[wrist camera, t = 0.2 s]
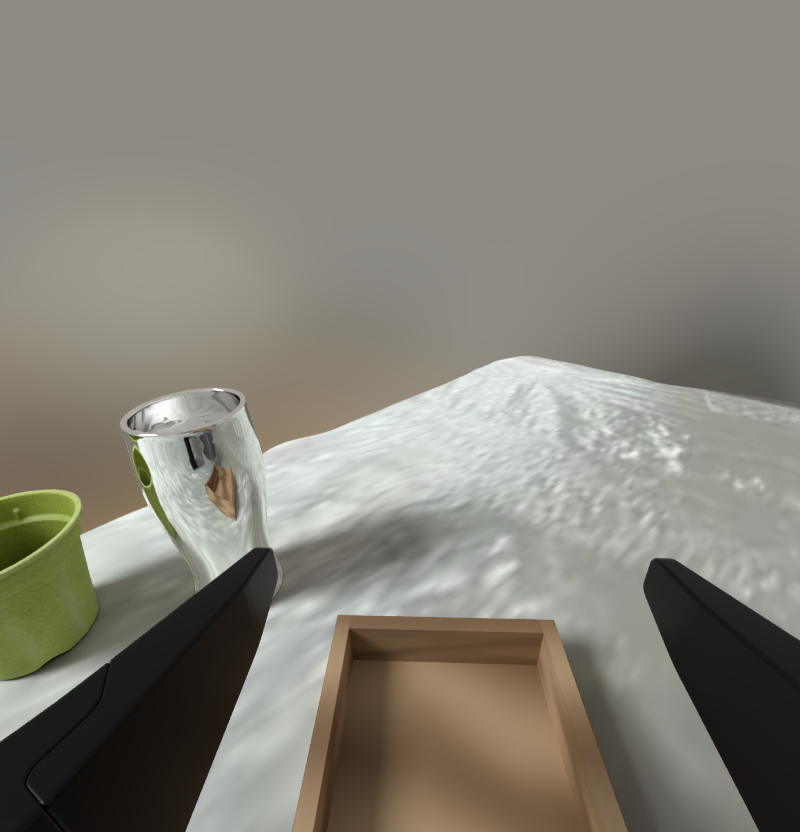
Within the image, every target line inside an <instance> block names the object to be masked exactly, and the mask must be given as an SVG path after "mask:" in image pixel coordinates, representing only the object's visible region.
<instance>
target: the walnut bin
mask: <svg viewBox="0 0 800 832" xmlns="http://www.w3.org/2000/svg"><path fill="white" fill-rule="evenodd" d="M292 832H628V831H627V828H626V825H625V822H624V819H623V816H622V814H621V811H620V808H619V805H618V802H617V799H616V796H615V794H614V791H613V788H612V785H611V782H610V779H609V776H608V774H607V771H606V768H605V765H604V762H603V759H602V756H601V754H600V751H599V748H598V745H597V742H596V739H595V736H594V734H593V731H592V728H591V725H590V722H589V719H588V716H587V714H586V711H585V708H584V705H583V702H582V699H581V696H580V693H579V691H578V688H577V685H576V682H575V679H574V676H573V673H572V671H571V668H570V665H569V662H568V659H567V656H566V653H565V651H564V648H563V645H562V642H561V639H560V636H559V633H558V631H557V628H556V625H555V622H554V620H533V619H489V618H445V617H400V616H356V615H338V617H337V621H336V626H335V631H334V635H333V640H332V645H331V650H330V654H329V659H328V664H327V668H326V673H325V678H324V683H323V687H322V692H321V697H320V701H319V706H318V711H317V716H316V720H315V725H314V730H313V734H312V739H311V744H310V749H309V753H308V758H307V763H306V768H305V772H304V777H303V782H302V786H301V791H300V796H299V801H298V805H297V810H296V815H295V819H294V824H293V829H292Z"/></svg>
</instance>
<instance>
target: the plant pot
mask: <svg viewBox="0 0 800 832" xmlns="http://www.w3.org/2000/svg"><path fill="white" fill-rule="evenodd" d="M82 510H83V506H82V502H81V500H80V499H79V497H78V496H77V495H75V494H74V493H71V492H68V491H63V490H39V491H38V490H37V491H29V492H23V493H17V494H12V495H9V496H5V497H1V498H0V680H8V679H13V678H17V677H21V676H24V675H26V674H29V673H32V672H34V671H36V670H38V669H39V668H41V667H42V665H44V664H45V663H46V662H47V661H49V660H50V659H52V658H53V657H55V656H57V655H59V654H61V653H64V652H66V651H68V650H70V649H71V648H72V647H73V646H74V645H75V644H77V643H78V642H79V641H80V640H81V639H82V638H83V636H84V635H85V634H86V633H87V632H88V630H89V629H90V628H91V626H92V624H93V623H94V621H95V619H96V617H97V614H98V601H97V598H96V594H95V591H94V587H93V584H92V581H91V578H90V574H89V570H88V567H87V563H86V559H85V554H84V550H83V546H82V543H81V539H80V533H81V523H80V517H81V514H82Z"/></svg>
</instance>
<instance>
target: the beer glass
mask: <svg viewBox="0 0 800 832" xmlns="http://www.w3.org/2000/svg"><path fill="white" fill-rule="evenodd" d="M120 428H121V429H122V431H123V434H124V438H125V441H126V444H127V448H128V451H129V456H130V459H131V462H132V466H133V469H134V472H135V475H136V478H137V480H138V483H139V486H140V489H141V491H142V493H143V495H144V497H145V500H146V502H147V504H148V506H149V508H150V510H151V512H152V513H153V515H154V517H155V518H156V520H157V521H158V523H159V525H160V526H161V528H162V529H163V530H164V532H165V533H166V534H167V536H168V537H169V539H170V540H171V541H172V543H173V544H174V545H175V547H176V548H177V549H178V551H179V552H180V553H181V555H182V556H183V558H184V559H185V561H186V562H187V563H188V565H189V567H190V570H191V572H192V575H193V578H194V584H195V594H196V593H197V592H198V591H200V590H201V589H202V588H203V587H205V586H206V585H207V584H209V583H210V582H211V581H212V580H214V579H215V578H216V577H217V576H219V575H220V574H221V573H223V572H224V571H225V570H226V569H228V568H229V567H230V566H232V565H233V564H234V563H235V562H237V561H238V560H239V559H240V558H242V557H243V556H244V555H246V554H247V553H248V552H249V551H251V550H252V549H254V548H256V547H269V548H272V547H271V545H270V542H269V538H268V532H267V488H266V474H265V467H264V462H263V457H262V452H261V448H260V444H259V441H258V437H257V434H256V431H255V427H254V425H253V421H252V419H251V416H250V413H249V410H248V407H247V403H246V398H245V396H244V395H243V394H242V393H241V392H239V391H236V390H233V389H227V388H201V389H192V390H186V391H181V392H176V393H172V394H169V395H165V396H162V397H159V398H156V399H153V400H151V401H148V402H146V403H143V404H141V405H140V406H138V407H136V408H134V409H133V410H131V411H129V412H128V413H127V414H126V415H125V416H124V417H123V418H122V420H121V422H120ZM273 552H274V551H273ZM274 556H275V561H276V565H277V570H278V580H277V584H276V588H275V591H274V595H273V598H274V596H275V595H276V594H277V592H278V590H279V588H280V586H281V583H282V575H283V574H282V568H281V565H280V563H279V561H278V559H277V557H276V555H275V553H274ZM273 598H272V599H273Z"/></svg>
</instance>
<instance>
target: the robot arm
mask: <svg viewBox="0 0 800 832" xmlns="http://www.w3.org/2000/svg"><path fill="white" fill-rule="evenodd" d="M277 580H278V570H277V565H276V561H275V556H274V552H273V550H272V548H269V547H256V548H254V549H252V550H251V551H249V552H248V553H247V554H246V555H244V556H243V557H242V558H240V559H239V560H238V561H237V562H235V563H234V564H233V565H232V566H230V567H229V568H228V569H226V570H225V571H224V572H223V573H221V574H220V575H219V576H217V577H216V578H215V579H214V580H212V581H211V582H210V583H209V584H207V585H206V586H205V587H203V588H202V589H201V590H200V591H198V592H197V593H196V594H194V595H193V596H192V597H191V598H189V599H188V600H187V601H185V602H184V603H183V604H182V605H180V606H179V607H178V608H177V609H175V610H174V611H173V612H171V613H170V614H169V615H168V616H166V617H165V618H164V619H162V620H161V621H160V622H159V623H157V624H156V625H155V626H154V627H152V628H151V629H150V630H148V631H147V632H146V633H145V634H143V635H142V636H141V637H139V638H138V639H137V640H136V641H134V642H133V643H132V644H131V645H129V646H128V647H127V648H125V649H124V650H123V651H122V652H120V653H119V654H118V655H116V656H115V657H114V658H113V659H111V661H110V663H106V664H105V665H103V666H102V667H101V668H100V669H98V670H97V671H96V672H95V673H93V674H92V675H91V676H89V677H88V678H87V679H86V680H84V681H83V682H82V683H80V684H79V685H78V686H76V687H75V688H74V689H72V690H71V691H70V692H68V693H67V694H66V695H64V696H63V697H62V698H60V699H59V700H58V701H57V702H55V703H54V704H52V705H51V706H50V707H48V708H47V709H45V710H44V711H43V712H41V713H40V714H38V715H37V716H36V717H34V718H33V719H31V720H30V721H29V722H27V723H26V724H25V725H23V726H22V727H20V728H19V729H18V730H16V731H15V732H13V733H12V734H10V735H9V736H8V737H6V738H5V739H3V740H2V741H0V832H185V831H186V829H187V826H188V824H189V821H190V818H191V816H192V813H193V811H194V808H195V806H196V803H197V801H198V798H199V796H200V793H201V791H202V788H203V786H204V783H205V781H206V778H207V776H208V773H209V770H210V768H211V765H212V763H213V760H214V758H215V755H216V753H217V750H218V748H219V745H220V743H221V740H222V738H223V735H224V733H225V730H226V728H227V725H228V723H229V720H230V717H231V715H232V712H233V710H234V707H235V705H236V702H237V700H238V697H239V695H240V692H241V690H242V687H243V685H244V682H245V680H246V677H247V675H248V672H249V670H250V667H251V664H252V662H253V659H254V657H255V654H256V652H257V649H258V646H259V643H260V640H261V637H262V633H263V630H264V626H265V623H266V619H267V616H268V612H269V609H270V605H271V602H272V598H273V595H274V591H275V588H276V584H277ZM643 589H644V594H645V597H646V599H647V602H648V604H649V606H650V609H651V611H652V614H653V616H654V619H655V621H656V624H657V626H658V629H659V631H660V634H661V636H662V639H663V641H664V644H665V646H666V648H667V651H668V653H669V656H670V658H671V660H672V662H673V665H674V667H675V669H676V671H677V673H678V675H679V677H680V679H681V681H682V683H683V685H684V687H685V688H686V690H687V692H688V694H689V696H690V698H691V700H692V702H693V704H694V706H695V708H696V710H697V712H698V714H699V716H700V717H701V719H702V721H703V723H704V725H705V727H706V729H707V731H708V733H709V735H710V737H711V739H712V741H713V743H714V745H715V747H716V748H717V750H718V752H719V754H720V756H721V758H722V760H723V762H724V764H725V766H726V768H727V770H728V772H729V774H730V776H731V777H732V779H733V781H734V783H735V785H736V787H737V789H738V791H739V793H740V795H741V797H742V799H743V801H744V803H745V805H746V806H747V808H748V810H749V812H750V814H751V816H752V818H753V820H754V822H755V824H756V826H757V828H758V830H759V832H800V640H798V639H797V638H795V637H793V636H792V635H790V634H789V633H787V632H786V631H784V630H783V629H781V628H780V627H778V626H777V625H775V624H773V623H772V622H770V621H769V620H767V619H766V618H764V617H763V616H761V615H760V614H758V613H756V612H755V611H753V610H752V609H750V608H749V607H747V606H746V605H744V604H743V603H741V602H739V601H738V600H736V599H735V598H733V597H732V596H730V595H729V594H727V593H726V592H724V591H722V590H721V589H719V588H718V587H716V586H715V585H713V584H712V583H710V582H709V581H707V580H706V579H704V578H702V577H701V576H699V575H698V574H696V573H695V572H693V571H692V570H690V569H689V568H687V567H685V566H684V565H682V564H681V563H679V562H678V561H676V560H674V559H670V558H654V559H653V560H652V561H651V562H650V565H649V568H648V571H647V574H646V577H645V580H644V584H643Z"/></svg>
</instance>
